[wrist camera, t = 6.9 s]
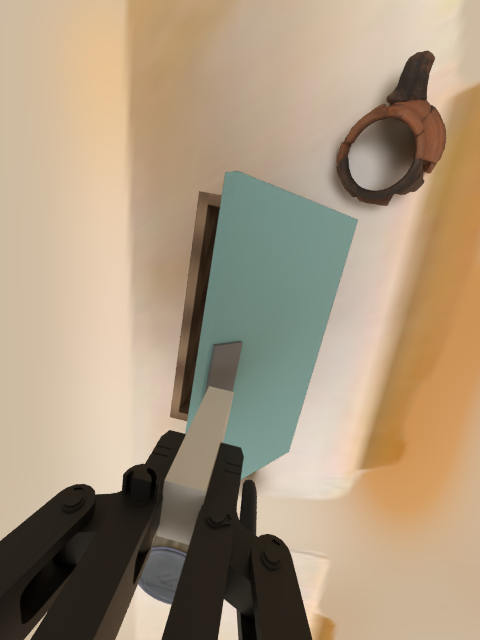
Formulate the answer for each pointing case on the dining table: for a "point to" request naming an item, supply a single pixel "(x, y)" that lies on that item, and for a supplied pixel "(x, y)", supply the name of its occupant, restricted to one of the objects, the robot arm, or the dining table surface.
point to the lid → (267, 310)
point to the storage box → (195, 301)
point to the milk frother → (171, 554)
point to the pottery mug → (422, 121)
